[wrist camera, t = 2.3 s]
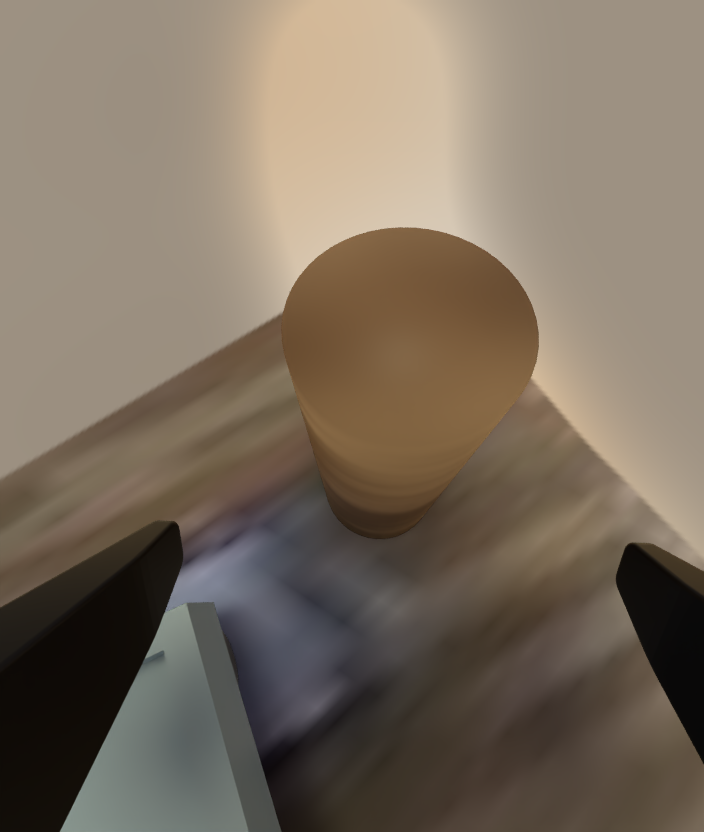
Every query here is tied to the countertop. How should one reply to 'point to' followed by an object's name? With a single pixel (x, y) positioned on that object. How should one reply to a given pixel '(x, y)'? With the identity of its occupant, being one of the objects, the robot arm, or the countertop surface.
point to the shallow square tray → (179, 743)
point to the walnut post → (403, 367)
